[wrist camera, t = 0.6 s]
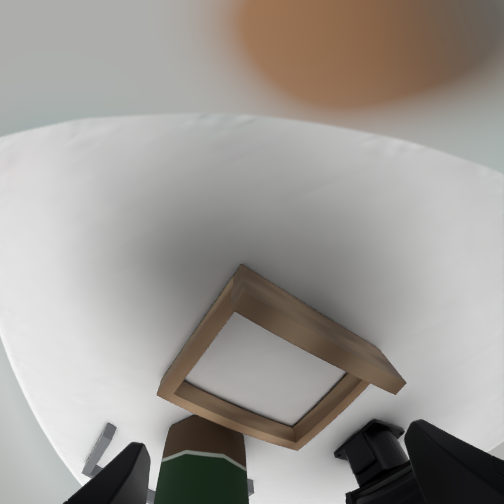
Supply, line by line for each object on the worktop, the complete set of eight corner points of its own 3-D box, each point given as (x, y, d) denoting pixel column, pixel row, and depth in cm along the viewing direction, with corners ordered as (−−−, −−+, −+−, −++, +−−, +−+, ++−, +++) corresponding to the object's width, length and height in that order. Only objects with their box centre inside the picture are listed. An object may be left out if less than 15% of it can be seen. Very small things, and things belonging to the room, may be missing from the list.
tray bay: (252, 480, 26) (254, 493, 24) (204, 510, 28) (203, 520, 26) (108, 422, 23) (102, 435, 21) (85, 462, 25) (81, 472, 23)
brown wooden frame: (379, 349, 22) (406, 383, 17) (294, 436, 24) (303, 474, 19) (241, 263, 19) (243, 291, 15) (161, 379, 21) (148, 421, 17)
